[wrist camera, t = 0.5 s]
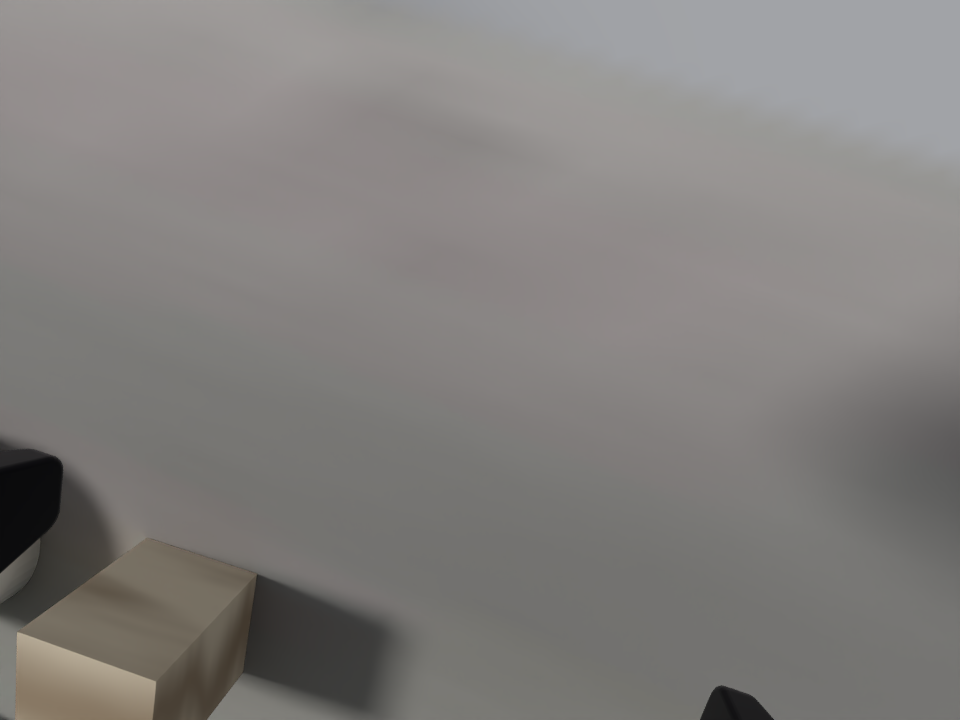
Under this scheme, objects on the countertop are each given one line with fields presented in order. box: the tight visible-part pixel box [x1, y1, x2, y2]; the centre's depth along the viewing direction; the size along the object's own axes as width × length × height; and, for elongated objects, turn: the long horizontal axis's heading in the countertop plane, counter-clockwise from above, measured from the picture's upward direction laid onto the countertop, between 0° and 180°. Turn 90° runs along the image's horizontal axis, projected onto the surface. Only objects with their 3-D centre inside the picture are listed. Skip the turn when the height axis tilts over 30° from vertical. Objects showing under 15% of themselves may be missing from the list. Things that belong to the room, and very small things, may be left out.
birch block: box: [15, 538, 257, 720], centre depth 23 cm, size 5×5×6 cm
